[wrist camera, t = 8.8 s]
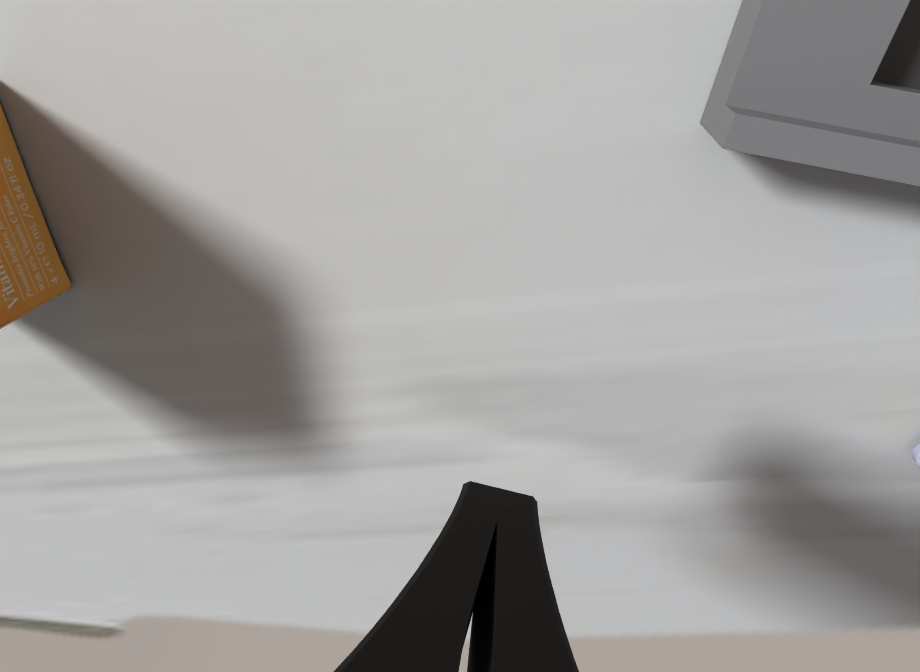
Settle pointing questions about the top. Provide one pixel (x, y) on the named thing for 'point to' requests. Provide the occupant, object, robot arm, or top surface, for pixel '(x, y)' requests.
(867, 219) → the top surface
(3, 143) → the small box
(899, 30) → the grey divided tray
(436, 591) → the robot arm
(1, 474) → the top surface
